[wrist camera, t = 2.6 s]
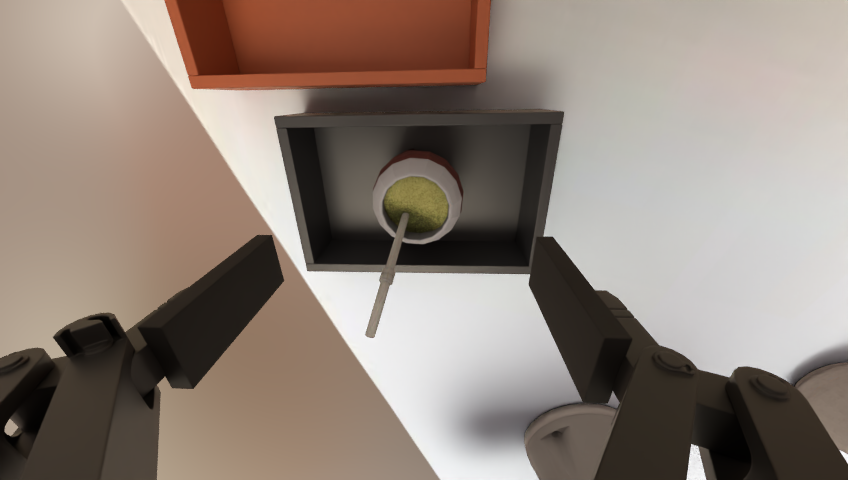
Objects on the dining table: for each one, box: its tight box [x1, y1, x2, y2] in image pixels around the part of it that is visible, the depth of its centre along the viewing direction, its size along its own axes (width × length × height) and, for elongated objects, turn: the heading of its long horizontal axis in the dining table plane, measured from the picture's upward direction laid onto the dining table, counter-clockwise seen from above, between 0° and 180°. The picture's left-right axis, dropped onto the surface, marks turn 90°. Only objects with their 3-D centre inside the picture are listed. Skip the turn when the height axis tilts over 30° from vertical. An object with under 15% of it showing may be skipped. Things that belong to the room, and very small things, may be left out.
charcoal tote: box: [274, 109, 564, 274], centre depth 26 cm, size 13×21×5 cm, turn 91°
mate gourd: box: [365, 148, 464, 338], centre depth 21 cm, size 8×8×15 cm
